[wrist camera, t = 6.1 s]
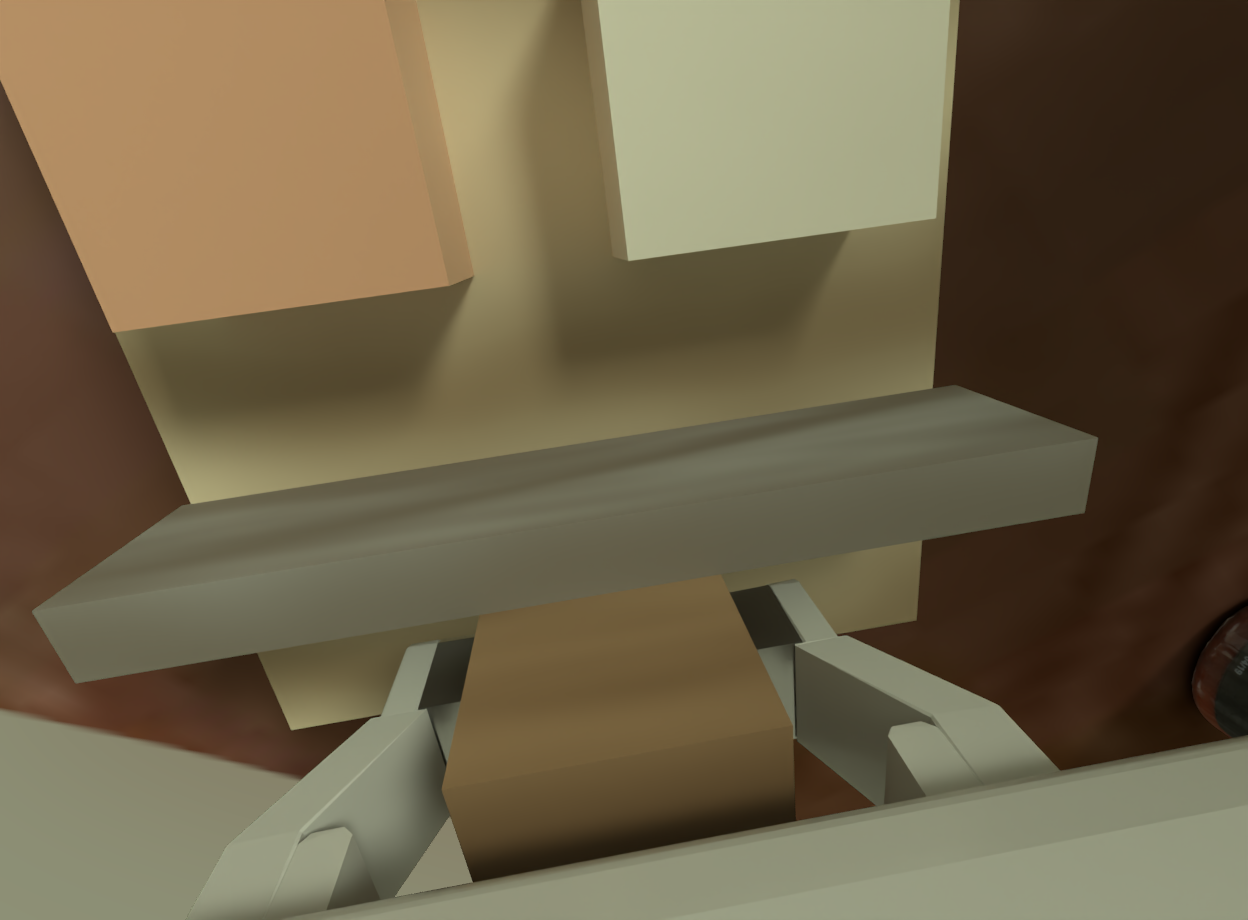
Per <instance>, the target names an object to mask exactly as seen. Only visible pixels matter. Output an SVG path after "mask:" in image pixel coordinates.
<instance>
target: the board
mask: <svg viewBox="0 0 1248 920" xmlns="http://www.w3.org/2000/svg"><path fill="white" fill-rule="evenodd" d="M416 2H417V7H418V12H419V17H420V21H421V26H422V31H423V36H424V40H425V45H426V50H427V54H428V59H429V64H430V69H431V73H432V78H433V83H434V88H435V92H436V97H437V102H438V106H439V111H440V116H441V121H442V125H443V130H444V135H445V140H446V144H447V149H448V154H449V159H450V163H451V168H452V173H453V177H454V182H455V187H456V192H457V196H458V201H459V206H460V211H461V215H462V220H463V225H464V229H465V234H466V239H467V244H468V248H469V253H470V258H471V263H472V267H473V272H474V276H473V277H470V278H468V279H465V280H463V281H460V282H458V283H455V284H453V285H450V286H445V287H438V288H431V289H423V290H416V291H409V292H402V293H395V294H387V295H380V296H373V297H366V298H359V299H351V300H344V301H337V302H330V303H323V304H315V305H308V306H301V307H294V308H287V309H279V310H272V311H265V312H258V313H251V314H243V315H236V316H229V317H222V318H215V319H207V320H200V321H193V322H186V323H179V324H171V325H164V326H157V327H150V328H143V329H135V330H128V331H121V332H115V334H116V336H117V338H118V340H119V343H120V345H121V347H122V349H123V352H124V354H125V356H126V358H127V361H128V363H129V365H130V367H131V370H132V372H133V374H134V376H135V379H136V381H137V383H138V386H139V388H140V390H141V392H142V395H143V397H144V399H145V401H146V404H147V406H148V408H149V410H150V413H151V415H152V417H153V419H154V422H155V424H156V426H157V428H158V431H159V433H160V435H161V437H162V440H163V442H164V444H165V446H166V449H167V451H168V453H169V455H170V458H171V460H172V462H173V464H174V467H175V469H176V471H177V474H178V476H179V478H180V480H181V483H182V485H183V487H184V489H185V492H186V494H187V496H188V498H189V501H190V503H191V504H195V503H202V502H208V501H214V500H221V499H227V498H234V497H240V496H246V495H253V494H259V493H266V492H272V491H278V490H285V489H291V488H298V487H304V486H310V485H317V484H323V483H330V482H336V481H343V480H349V479H355V478H362V477H368V476H375V475H381V474H387V473H394V472H400V471H407V470H413V469H419V468H426V467H432V466H439V465H445V464H451V463H458V462H464V461H471V460H477V459H483V458H490V457H496V456H503V455H509V454H516V453H522V452H528V451H535V450H541V449H548V448H554V447H560V446H567V445H573V444H580V443H586V442H592V441H599V440H605V439H612V438H618V437H624V436H631V435H637V434H644V433H650V432H657V431H663V430H669V429H676V428H682V427H689V426H695V425H701V424H708V423H714V422H721V421H727V420H733V419H740V418H746V417H753V416H759V415H765V414H772V413H778V412H785V411H791V410H797V409H804V408H810V407H817V406H823V405H830V404H836V403H842V402H849V401H855V400H862V399H868V398H874V397H881V396H887V395H894V394H900V393H906V392H913V391H919V390H926V389H932V388H933V376H934V362H935V347H936V333H937V318H938V304H939V290H940V275H941V261H942V247H943V232H944V218H945V204H946V189H947V175H948V160H949V146H950V132H951V117H952V103H953V89H954V74H955V60H956V46H957V31H958V17H959V3H960V0H950V12H949V28H948V43H947V59H946V74H945V89H944V105H943V120H942V136H941V151H940V167H939V182H938V198H937V213H936V218H935V219H927V220H920V221H913V222H906V223H899V224H891V225H884V226H877V227H870V228H863V229H855V230H848V231H841V232H834V233H827V234H819V235H812V236H805V237H798V238H791V239H783V240H776V241H769V242H762V243H755V244H747V245H740V246H733V247H726V248H719V249H711V250H704V251H697V252H690V253H683V254H675V255H668V256H661V257H654V258H647V259H639V260H632V261H626V260H623V259H619V258H616V257H613V253H612V245H611V237H610V230H609V222H608V214H607V206H606V198H605V190H604V182H603V174H602V166H601V158H600V150H599V142H598V135H597V127H596V119H595V111H594V103H593V95H592V87H591V79H590V71H589V63H588V55H587V48H586V40H585V32H584V24H583V16H582V8H581V0H416ZM921 548H922V540H921V541H915V542H909V543H903V544H898V545H892V546H886V547H880V548H874V549H868V550H862V551H856V552H850V553H844V554H838V555H832V556H827V557H821V558H815V559H809V560H803V561H797V562H791V563H785V564H779V565H773V566H767V567H761V568H756V569H750V570H744V571H738V572H732V573H726V574H721V576H722V578H723V580H724V582H725V584H726V586H727V588H728V590H729V592H732V591H737V590H743V589H749V588H754V587H760V586H765V585H766V584H771V583H776V582H781V581H786V580H791V579H795V580H797V581H799V582H800V584H801V585H802V587H803V588H804V589H805V591H806V592H807V594H808V595H809V596H810V598H811V599H812V601H813V602H814V603H815V605H816V606H817V608H818V609H819V610H820V612H821V613H822V615H823V616H824V618H825V619H826V620H827V622H828V623H829V625H830V626H831V627H832V629H833V630H834V632H835V633H836V634H842V633H847V632H853V631H859V630H864V629H870V628H876V627H881V626H887V625H893V624H899V623H904V622H910V621H916V620H917V606H918V591H919V577H920V563H921ZM478 619H479V615H477V616H472V617H466V618H460V619H454V620H448V621H442V622H436V623H430V624H424V625H418V626H412V627H406V628H400V629H395V630H389V631H383V632H377V633H371V634H365V635H359V636H353V637H347V638H341V639H335V640H329V641H324V642H318V643H312V644H306V645H300V646H294V647H288V648H282V649H276V650H270V651H264V652H258V653H257V654H258V656H259V659H260V661H261V663H262V665H263V668H264V670H265V672H266V674H267V677H268V679H269V681H270V683H271V686H272V688H273V690H274V692H275V695H276V697H277V699H278V701H279V704H280V706H281V708H282V710H283V713H284V715H285V717H286V719H287V722H288V724H289V726H290V728H291V730H296V729H301V728H307V727H313V726H319V725H324V724H330V723H336V722H341V721H347V720H353V719H358V718H364V717H370V716H375V715H381V714H382V711H383V708H384V706H385V703H386V701H387V698H388V695H389V693H390V690H391V688H392V685H393V682H394V680H395V677H396V674H397V672H398V669H399V667H400V664H401V661H402V659H403V656H404V654H405V651H406V649H407V648H408V647H409V646H410V645H411V644H415V643H421V642H427V641H433V640H442V639H445V638H452V637H459V636H465V635H472V634H475V633H476V628H477V624H478Z"/></svg>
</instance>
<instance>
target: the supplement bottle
mask: <svg viewBox="0 0 1248 920" xmlns="http://www.w3.org/2000/svg"><path fill="white" fill-rule="evenodd" d="M1192 693H1193V698H1194V701H1195V704H1196V706H1197V708H1198V709H1199V711H1200V712H1201V714H1202V715H1203V716H1204V718H1205V719H1206V720H1207V721H1208V722H1209V723H1211V724H1212V725H1213V726H1214V727H1216V728H1217V729H1219V730H1220V731H1221V732H1223V733H1224V734H1225V735H1227V736H1228V737H1229V738H1236V737H1241V736H1246V735H1248V605H1247V606H1246V607H1244V608H1242V609H1240V610H1239V611H1237V612H1236V613H1235V614H1233V615H1232V616H1230V617H1229V618H1227V619H1226V620H1225V621H1224V622H1223V623H1222V625H1221V626H1220V627H1219V629H1218V630H1217V631H1216V633H1215V634H1214V635H1213V637H1212V639H1211V640H1210V641H1209V642H1208V643H1207V644H1206V646H1205V648H1204V649H1203V651H1202V652H1201V654H1200V657H1199V659H1198V663H1197V665H1196V667H1195V670H1194V674H1193V679H1192Z"/></svg>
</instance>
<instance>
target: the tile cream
mask: <svg viewBox="0 0 1248 920" xmlns="http://www.w3.org/2000/svg"><path fill="white" fill-rule="evenodd" d="M581 8H582V16H583V24H584V32H585V40H586V48H587V55H588V63H589V71H590V79H591V87H592V95H593V103H594V111H595V119H596V127H597V135H598V142H599V150H600V158H601V166H602V174H603V182H604V190H605V198H606V206H607V214H608V222H609V230H610V237H611V245H612V253H613V257H616V258H619V259H623V260H626V261H632V260H639V259H647V258H654V257H661V256H668V255H675V254H683V253H690V252H697V251H704V250H711V249H719V248H726V247H733V246H740V245H747V244H755V243H762V242H769V241H776V240H783V239H791V238H798V237H805V236H812V235H819V234H827V233H834V232H841V231H848V230H855V229H863V228H870V227H877V226H884V225H891V224H899V223H906V222H913V221H920V220H927V219H935V218H936V213H937V198H938V182H939V167H940V151H941V136H942V120H943V105H944V89H945V74H946V59H947V43H948V28H949V12H950V0H581Z"/></svg>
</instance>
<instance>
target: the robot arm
mask: <svg viewBox="0 0 1248 920" xmlns="http://www.w3.org/2000/svg"><path fill="white" fill-rule="evenodd" d="M730 595H731V597H732V599H733V601H734V603H735V605H736V607H737V609H738V611H739V613H740V616H741V618H742V620H743V622H744V624H745V626H746V628H747V630H748V632H749V634H750V637H751V639H752V641H753V643H754V645H755V647H756V649H757V651H758V653H759V655H760V657H761V660H762V662H763V664H764V666H765V668H766V670H767V672H768V674H769V676H770V678H771V681H772V683H773V685H774V687H775V689H776V691H777V693H778V695H779V697H780V699H781V701H782V704H783V706H784V708H785V710H786V712H787V714H788V716H789V718H790V720H791V722H792V725H793V739H796V738H797V741H798V742H799V743H800V744H801V745H803V746H804V747H805V748H806V749H807V750H809V751H810V752H811V753H812V754H814V755H815V756H816V757H817V758H819V759H820V760H821V761H822V762H823V763H825V764H826V765H827V766H828V767H830V768H831V769H832V770H833V771H835V772H836V773H837V774H838V775H839V776H841V777H842V778H843V779H844V780H846V781H847V782H848V783H849V784H850V785H852V786H853V787H854V788H855V789H857V790H858V791H859V792H860V793H862V794H863V795H864V796H865V797H866V798H868V799H869V800H870V801H871V802H873V803H874V804H875V805H876V806H874V807H868V808H863V809H858V810H852V811H847V812H842V813H837V814H831V815H826V816H821V817H815V818H810V819H805V820H799V821H794V822H789V823H783V824H778V825H773V826H767V827H762V828H757V829H751V830H746V831H741V832H735V833H730V834H725V835H719V836H714V837H709V838H704V839H698V840H693V841H688V842H683V843H677V844H672V845H667V846H662V847H657V848H651V849H646V850H641V851H636V852H630V853H625V854H620V855H615V856H609V857H604V858H599V859H594V860H588V861H583V862H578V863H573V864H567V865H562V866H557V867H552V868H546V869H541V870H536V871H531V872H525V873H520V874H515V875H510V876H504V877H499V878H494V879H489V880H483V881H478V882H473V883H468V884H462V885H457V886H452V887H447V888H441V889H437V890H431V891H426V892H420V893H416V894H410V895H405V896H399V897H395V895H396V894H397V892H398V891H399V889H400V888H401V886H402V885H403V883H404V882H405V881H406V879H407V878H408V876H409V875H410V873H411V871H412V870H413V868H414V867H415V866H416V864H417V863H418V861H419V860H420V858H421V857H422V855H423V854H424V852H425V851H426V850H427V848H428V847H429V845H430V844H431V842H432V841H433V839H434V838H435V836H436V835H437V833H438V832H439V830H440V829H441V827H442V826H443V825H444V823H445V822H446V820H447V819H448V817H449V816H450V813H449V810H448V807H447V804H446V802H445V799H444V796H443V793H442V785H443V780H444V776H445V771H446V767H447V762H448V757H449V753H450V748H451V744H452V739H453V734H454V730H455V725H456V720H457V716H458V711H459V707H460V702H461V697H462V693H463V688H464V684H465V679H466V674H467V670H468V665H469V661H470V656H471V651H472V647H473V642H474V638H475V634H472V635H465V636H459V637H452V638H445V639H442V640H433V641H427V642H421V643H415V644H411V645H410V646H409V647H408V648H407V649H406V651H405V654H404V656H403V659H402V661H401V664H400V667H399V669H398V672H397V674H396V677H395V680H394V682H393V685H392V688H391V690H390V693H389V695H388V698H387V701H386V703H385V706H384V708H383V711H382V714H381V716H380V717H376V718H371V719H370V720H369V721H367V722H366V723H365V724H364V725H363V726H362V727H361V728H360V729H358V730H357V731H356V732H355V733H354V734H353V735H352V736H350V737H349V738H348V739H347V740H346V741H345V742H344V743H342V744H341V745H340V746H339V747H338V748H337V749H336V750H335V751H333V752H332V753H331V754H330V755H329V756H328V757H327V758H325V759H324V760H323V761H322V762H321V763H320V764H319V765H317V766H316V767H315V768H314V769H313V770H312V771H311V772H310V773H308V774H307V775H306V776H305V777H304V778H303V779H302V780H300V781H299V782H298V783H297V784H296V785H295V786H294V787H293V788H291V789H290V790H289V791H288V792H287V793H286V794H285V795H283V796H282V797H281V798H280V799H279V800H278V801H277V802H275V803H274V804H273V805H272V806H271V807H270V808H269V809H268V810H266V811H265V812H264V813H263V814H262V815H261V816H260V817H258V818H257V819H256V820H255V821H254V822H253V823H252V824H250V825H249V826H248V827H247V828H246V829H245V830H244V831H243V832H241V833H240V834H239V835H238V836H237V837H236V838H235V839H233V840H232V841H231V842H230V843H229V844H228V845H227V846H226V848H225V850H224V851H223V853H222V855H221V857H220V859H219V860H218V862H217V864H216V866H215V868H214V869H213V871H212V873H211V875H210V877H209V879H208V880H207V882H206V884H205V886H204V887H203V889H202V891H201V893H200V894H199V896H198V898H197V900H196V902H195V903H194V905H193V907H192V909H191V911H190V912H189V914H188V916H187V918H186V920H1248V735H1246V736H1241V737H1236V738H1231V739H1225V740H1220V741H1215V742H1209V743H1204V744H1199V745H1194V746H1188V747H1183V748H1178V749H1173V750H1167V751H1162V752H1157V753H1152V754H1146V755H1141V756H1136V757H1130V758H1125V759H1120V760H1115V761H1109V762H1104V763H1099V764H1094V765H1088V766H1083V767H1078V768H1073V769H1067V770H1062V771H1060V770H1059V769H1058V768H1057V767H1056V766H1055V765H1054V764H1053V763H1052V762H1051V760H1050V759H1049V758H1048V757H1047V756H1046V755H1045V754H1044V753H1043V752H1042V751H1041V750H1040V749H1039V748H1038V747H1037V746H1036V744H1035V743H1034V742H1033V741H1032V740H1031V739H1030V738H1029V737H1028V736H1027V735H1026V734H1025V733H1024V732H1023V731H1022V730H1021V728H1020V727H1019V726H1018V725H1017V724H1016V723H1015V722H1014V721H1013V720H1012V719H1011V718H1010V717H1009V716H1008V715H1007V713H1006V712H1005V711H1004V710H1003V709H1002V708H1001V707H1000V706H999V705H997V704H995V703H993V702H991V701H989V700H986V699H984V698H982V697H980V696H978V695H976V694H973V693H971V692H969V691H967V690H965V689H962V688H960V687H958V686H956V685H954V684H952V683H949V682H947V681H945V680H943V679H941V678H939V677H936V676H934V675H932V674H930V673H928V672H925V671H923V670H921V669H919V668H917V667H915V666H912V665H910V664H908V663H906V662H904V661H902V660H899V659H897V658H895V657H893V656H891V655H888V654H886V653H884V652H882V651H880V650H878V649H875V648H873V647H871V646H869V645H867V644H865V643H862V642H860V641H858V640H856V639H854V638H851V637H849V636H847V635H845V636H839V637H838V636H837V634H836V633H835V632H834V630H833V629H832V627H831V626H830V625H829V623H828V622H827V620H826V619H825V618H824V616H823V615H822V613H821V612H820V610H819V609H818V608H817V606H816V605H815V603H814V602H813V601H812V599H811V598H810V596H809V595H808V594H807V592H806V591H805V589H804V588H803V587H802V585H801V584H800V582H799V581H797V580H795V579H791V580H786V581H781V582H776V583H771V584H766V585H765V586H760V587H754V588H749V589H743V590H737V591H732V592H730Z"/></svg>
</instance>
